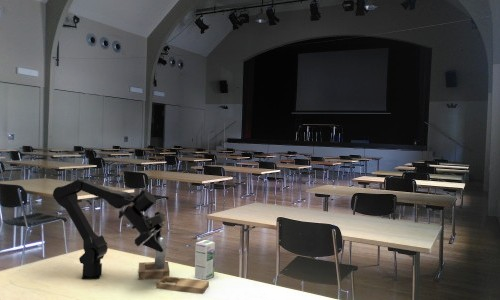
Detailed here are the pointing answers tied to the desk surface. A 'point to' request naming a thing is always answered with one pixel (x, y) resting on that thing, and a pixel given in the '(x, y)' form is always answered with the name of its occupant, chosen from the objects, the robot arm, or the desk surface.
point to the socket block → (152, 271)
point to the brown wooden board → (183, 284)
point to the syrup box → (204, 259)
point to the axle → (160, 253)
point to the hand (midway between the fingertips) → (164, 249)
